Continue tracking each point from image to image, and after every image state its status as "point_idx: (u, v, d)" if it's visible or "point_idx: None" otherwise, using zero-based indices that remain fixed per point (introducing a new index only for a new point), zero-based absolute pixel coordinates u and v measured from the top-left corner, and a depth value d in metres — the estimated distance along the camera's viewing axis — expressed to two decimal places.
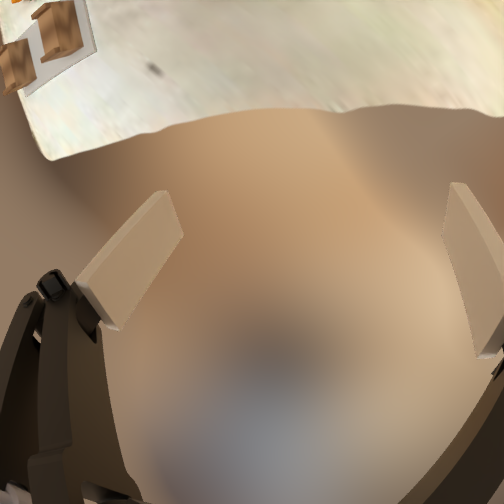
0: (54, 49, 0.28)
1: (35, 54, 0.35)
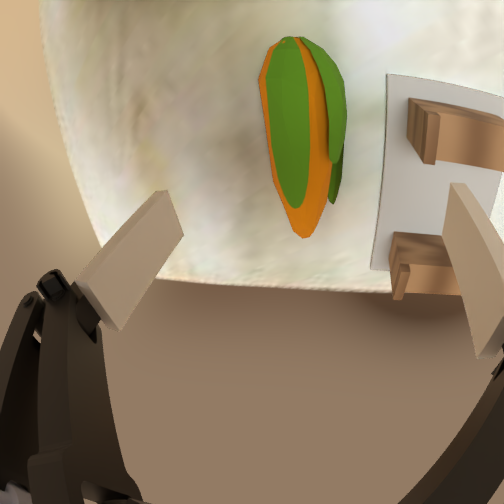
0: None
1: (436, 223, 0.28)
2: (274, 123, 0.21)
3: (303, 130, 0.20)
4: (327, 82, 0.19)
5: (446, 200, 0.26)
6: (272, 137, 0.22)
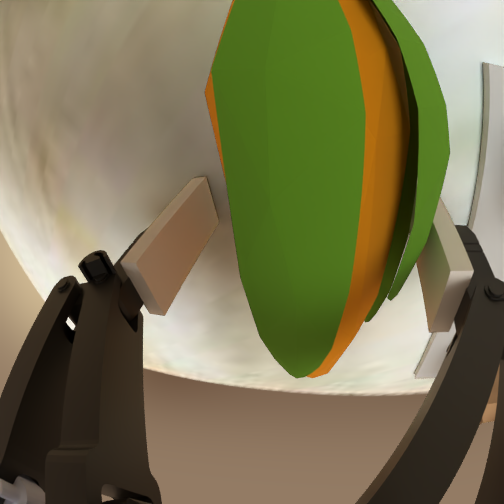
0: None
1: None
2: (245, 222, 0.07)
3: (336, 251, 0.07)
4: (423, 92, 0.05)
5: None
6: (241, 258, 0.08)
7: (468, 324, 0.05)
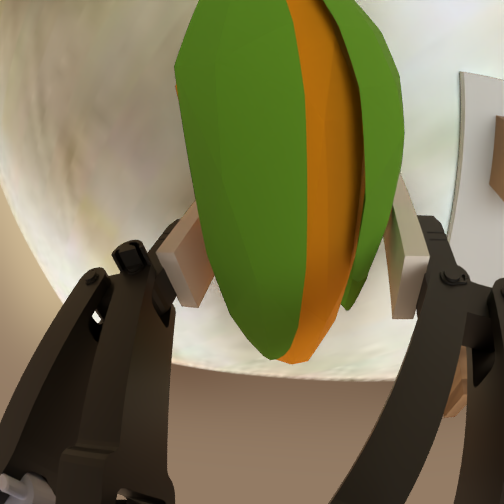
0: None
1: None
2: (206, 199, 0.08)
3: (288, 225, 0.07)
4: (367, 73, 0.05)
5: None
6: (205, 234, 0.09)
7: (424, 311, 0.06)
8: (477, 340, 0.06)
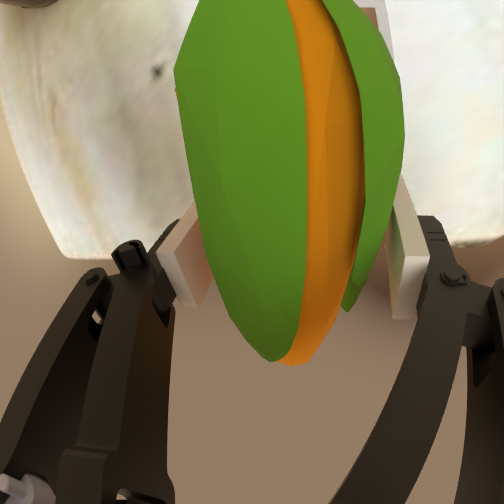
0: (364, 8, 0.13)
1: None
2: (205, 203, 0.08)
3: (287, 229, 0.07)
4: (367, 76, 0.05)
5: None
6: (205, 238, 0.09)
7: (425, 311, 0.06)
8: (477, 340, 0.06)
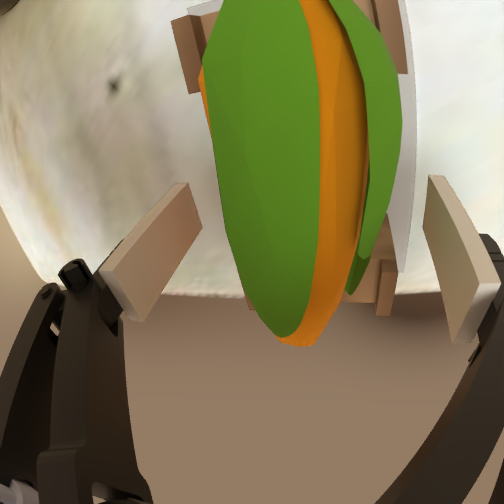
0: None
1: None
2: (228, 179, 0.09)
3: (302, 201, 0.08)
4: (370, 70, 0.06)
5: None
6: (226, 212, 0.09)
7: (495, 335, 0.05)
8: None
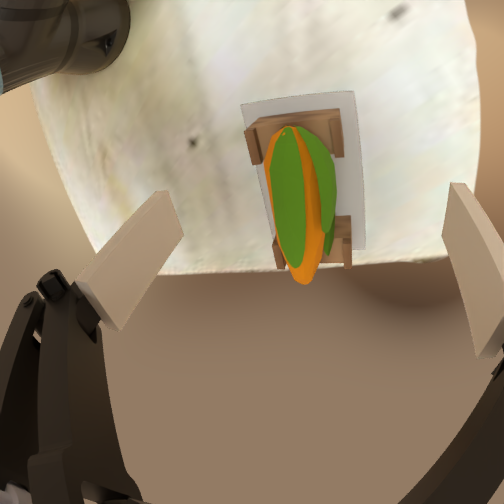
0: (332, 121, 0.27)
1: None
2: (277, 206, 0.28)
3: (300, 213, 0.27)
4: (319, 172, 0.25)
5: None
6: (275, 217, 0.29)
7: None
8: None
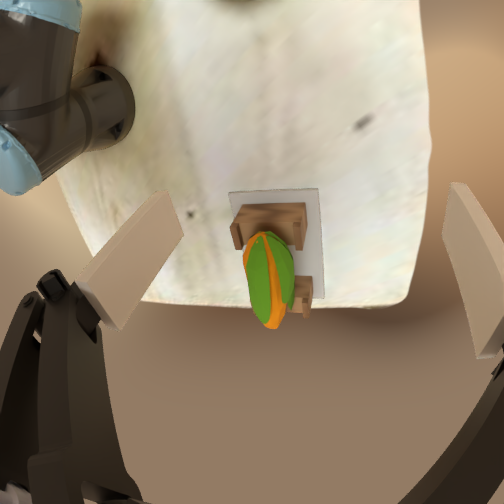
0: (294, 226, 0.40)
1: None
2: (251, 289, 0.41)
3: (266, 294, 0.40)
4: (280, 271, 0.39)
5: None
6: (250, 294, 0.42)
7: None
8: None
